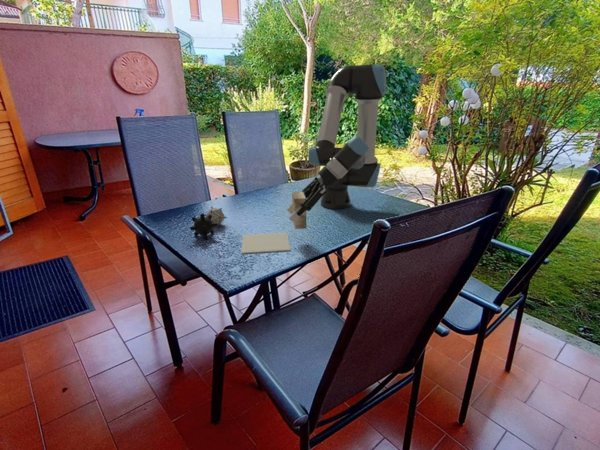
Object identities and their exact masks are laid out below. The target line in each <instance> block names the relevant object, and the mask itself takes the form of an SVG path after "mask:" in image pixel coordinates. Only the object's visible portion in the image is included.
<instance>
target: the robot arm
mask: <svg viewBox="0 0 600 450" xmlns="http://www.w3.org/2000/svg"><path fill="white" fill-rule="evenodd" d="M386 75H387V74H386V67H385V66H383V65H382V64H359V65H358V64H356V65H355V64H354V65H353V64H349V65H344V66H342V67H341V68H339V69H338V70H337V71H336V72H334V74H333V75H332V76H331V77H330V79H329V80H328V83H327V85H326V89H325V94H324V95H325V97H326V99H325V104H324V108H323V111H322V112H323V113H322V117H321V122H320V127H319V132H318V136H317V139H316V140H317V141H316V145H313V146H310V148H309V149H308V153H307V159H308V160H307V161H308V162H309V164H310V165H311V166H315V167H316V166H317V167H322V168H321V169H320V170H319V171H318V174H317V175H319V176H320V177H317V176H315V177H314V179H313V180H312V181H311V182H310V183H308V184H307V185H306V186H305V187H304V188H302V190H301V191H300V192H304V194H305V197H306V201H305V202H304V203H303V205H302V204H300V206H299V207H298V208H297V210H296V211H295V212H294V213H293V206H292V203H291V204H290V205H289V206H288V207H287V208H286V211H287V212H289V214H291V215H290V216H289V217H288V219H289V220H290V221H291V222H292V223H293V222H295V221H296V220H297V219H298V218H299V217H300V216H301V215H302V214H303V213H304V212H305V211H306V212H310V211H311V210H312V209H313V208H314V206H316V204H317V203H318V202H319V201H320V205H321V207H324V208H327V209H332V210H339V209H340V210H341V209H348V208H349V207H351V199H350V194H349V190H348V189H349V186H350V187H361V188H374V187H377V183H378V179H379V175H380V170H381V163H380V162H379V159H378V158H377V156H376V141H377V125H378V124H377V123H378V113H379V112H378V110H379V103H380V102H381V101H382V100H383V96H384V95H386V94H387V77H386ZM348 95H354V100H355V101H356V102H357V103H358V107H357V127H356V128H357V131H356V135H354V136H352V137H351V138H350V139H349V140H347V142H346V143H345V144H344V145H343V146H342V147H337V146H336V143H337V137H338V133H339V127H340V122H341V118H342V112H343V108H344V102H345V101H346V100H347V98H348Z"/></svg>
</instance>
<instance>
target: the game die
mask: <svg viewBox="0 0 600 450" xmlns="http://www.w3.org/2000/svg"><path fill="white" fill-rule="evenodd" d="M222 209H223V208H222V207H220V208H215V207H214V208H213V206H211V208H210V210H209V211H208V212H207V213H206V214H204V216H205V217H208V215H211V216H212V218H211V219H210V220H211V221H212V223H217V226H218V227H221V224H222V223H223V222H224V220H225V219H227V218H228V217H227V216H226V215H225V214H224V213H223V210H222Z"/></svg>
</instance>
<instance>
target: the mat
mask: <svg viewBox="0 0 600 450" xmlns="http://www.w3.org/2000/svg"><path fill="white" fill-rule="evenodd" d="M291 249H292V248H291V243H290V240H289V237H288V232H272V233H270V232H269V233H257V234H256V233H255V234H253V233H252V234H242V243H241V252H240V253H241V255H247V254H260V253H273V252H274V253H275V252H291Z"/></svg>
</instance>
